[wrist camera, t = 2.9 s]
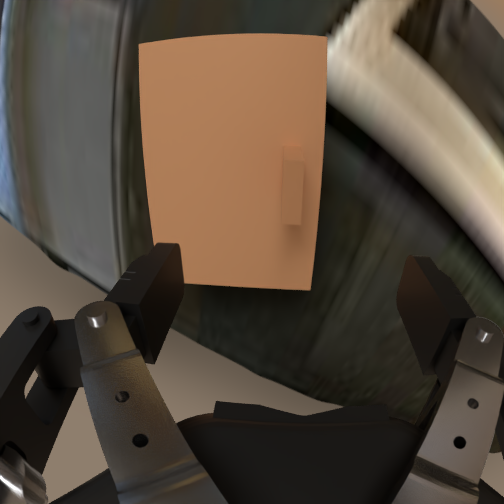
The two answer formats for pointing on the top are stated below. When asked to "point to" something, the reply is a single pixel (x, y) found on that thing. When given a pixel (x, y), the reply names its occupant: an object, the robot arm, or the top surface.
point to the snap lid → (236, 154)
